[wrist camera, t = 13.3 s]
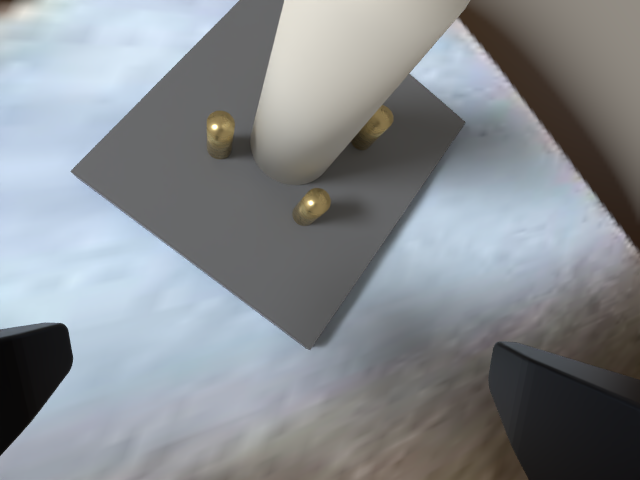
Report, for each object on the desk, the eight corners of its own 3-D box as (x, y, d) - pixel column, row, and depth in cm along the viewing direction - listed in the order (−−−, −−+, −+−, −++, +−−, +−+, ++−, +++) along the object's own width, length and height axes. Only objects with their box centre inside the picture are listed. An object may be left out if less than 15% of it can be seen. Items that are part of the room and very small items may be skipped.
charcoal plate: (305, 348, 22) (325, 356, 18) (76, 177, 21) (46, 148, 17) (456, 129, 27) (498, 98, 23) (275, -26, 25) (287, -86, 21)
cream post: (328, 191, 23) (473, 52, 10) (244, 177, 22) (294, 2, 9) (336, 114, 24) (480, -102, 11) (256, 96, 23) (315, -162, 10)
